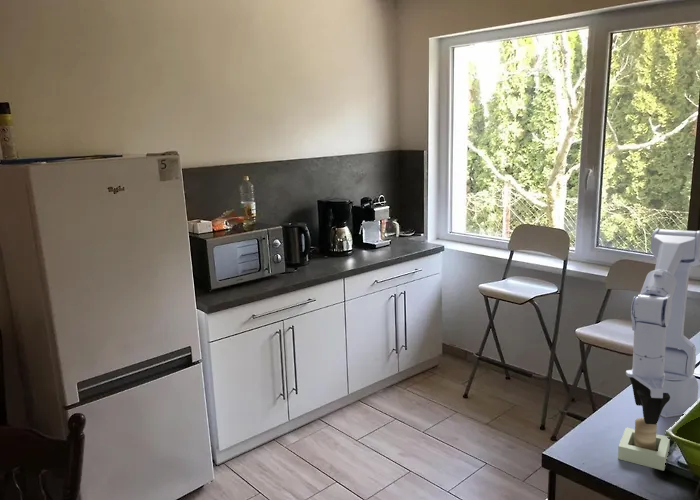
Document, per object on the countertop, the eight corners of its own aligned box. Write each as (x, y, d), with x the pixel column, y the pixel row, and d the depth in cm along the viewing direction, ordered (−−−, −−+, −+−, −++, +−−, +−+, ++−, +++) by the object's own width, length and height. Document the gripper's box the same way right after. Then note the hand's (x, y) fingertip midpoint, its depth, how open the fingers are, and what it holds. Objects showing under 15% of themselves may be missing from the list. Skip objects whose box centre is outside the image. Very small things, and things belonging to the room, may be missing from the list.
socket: (625, 439, 126) (626, 427, 125) (669, 449, 121) (670, 437, 120) (618, 458, 119) (618, 446, 118) (664, 470, 114) (664, 457, 113)
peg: (659, 456, 118) (661, 425, 117) (642, 459, 117) (644, 429, 116) (645, 446, 122) (647, 416, 121) (629, 449, 121) (630, 419, 120)
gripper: (619, 338, 123) (617, 396, 126) (635, 366, 109) (632, 430, 112) (655, 339, 121) (652, 398, 124) (676, 368, 107) (672, 433, 110)
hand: (645, 413), depth 118 cm, fingers open, 7 cm apart
